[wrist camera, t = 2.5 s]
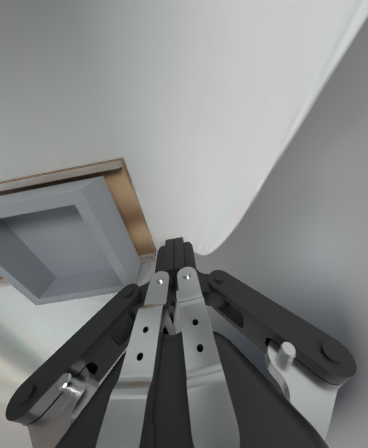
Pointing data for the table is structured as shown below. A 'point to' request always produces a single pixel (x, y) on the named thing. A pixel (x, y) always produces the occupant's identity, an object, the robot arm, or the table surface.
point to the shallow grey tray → (65, 242)
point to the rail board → (118, 188)
